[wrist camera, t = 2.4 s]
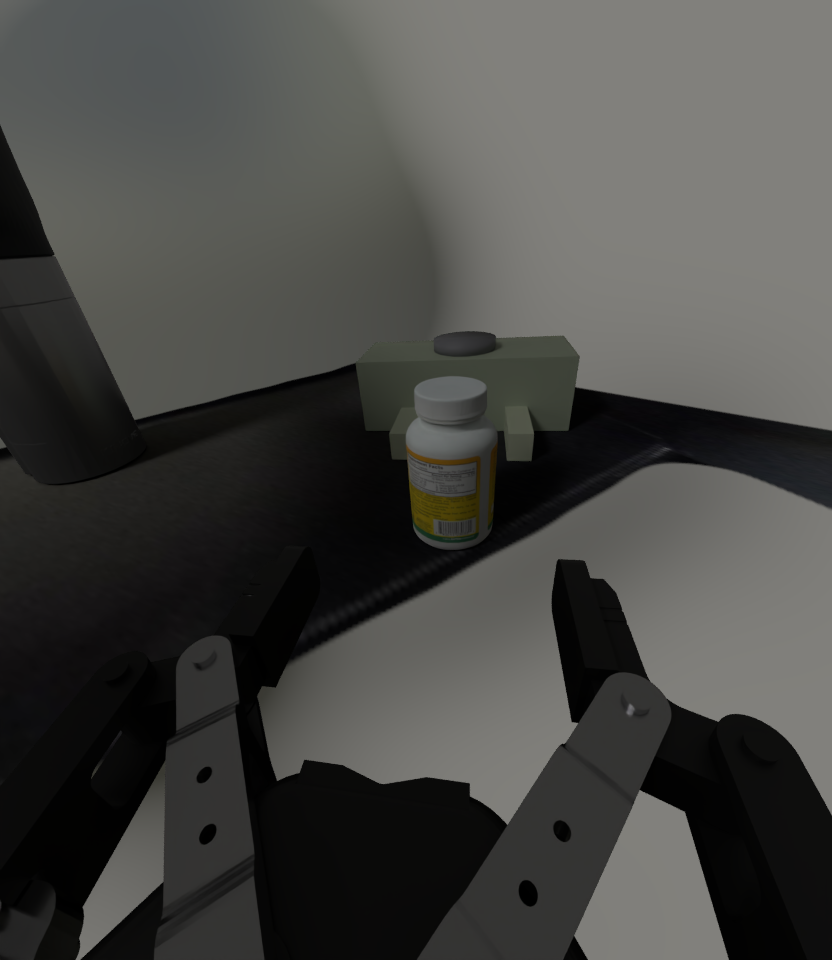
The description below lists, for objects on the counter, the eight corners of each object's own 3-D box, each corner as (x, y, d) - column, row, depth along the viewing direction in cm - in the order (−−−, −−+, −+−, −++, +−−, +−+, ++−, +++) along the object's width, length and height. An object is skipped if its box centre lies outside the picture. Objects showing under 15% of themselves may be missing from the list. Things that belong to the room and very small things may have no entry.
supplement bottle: (452, 566, 23) (448, 414, 18) (396, 525, 27) (380, 389, 22) (510, 525, 26) (520, 384, 21) (452, 494, 30) (450, 366, 24)
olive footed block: (348, 458, 35) (333, 371, 31) (382, 402, 47) (374, 333, 43) (581, 461, 32) (598, 364, 28) (555, 400, 44) (565, 325, 40)
